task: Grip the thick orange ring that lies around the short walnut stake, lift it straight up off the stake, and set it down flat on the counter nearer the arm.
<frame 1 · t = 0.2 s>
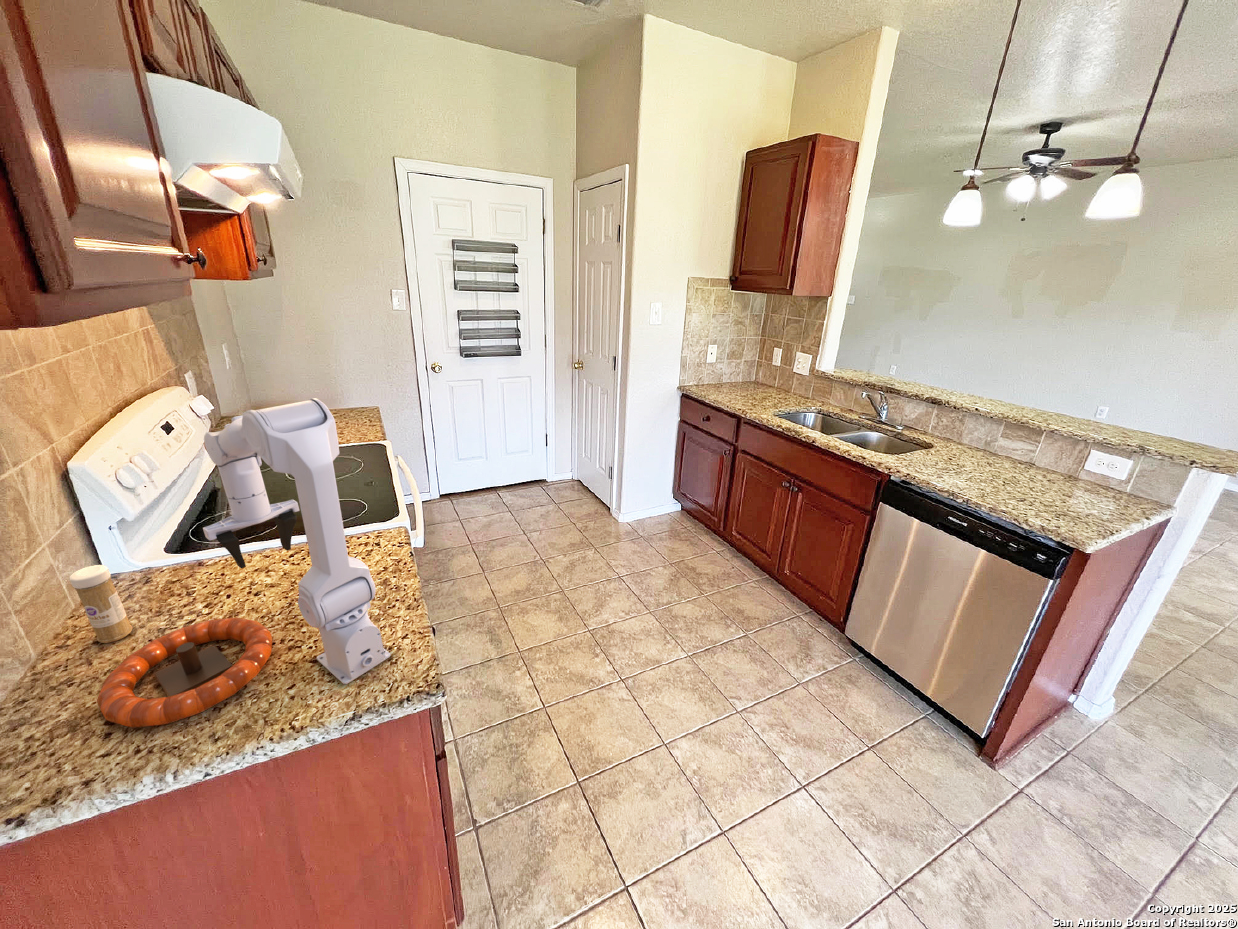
hand: (264, 557, 94), 10 cm above the counter, tool pointing down, fingers open, 7 cm apart
stake: (195, 674, 79), on the counter
ring: (192, 666, 79), point 2 cm above the counter
sprinkles bottle: (116, 636, 87), on the counter
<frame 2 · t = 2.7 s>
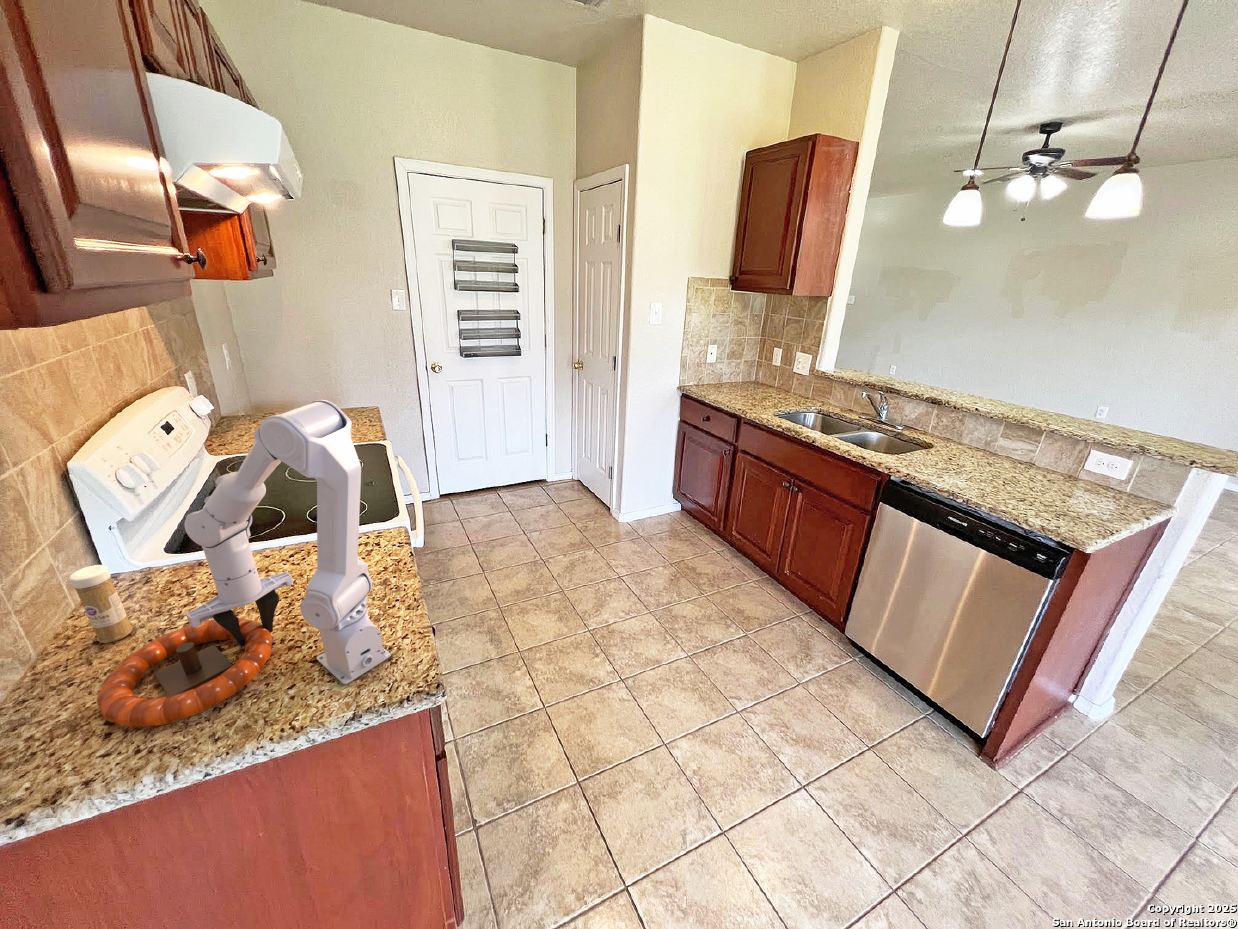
hand: (255, 636, 85), 2 cm above the counter, tool pointing down, fingers closed on ring, 3 cm apart
ring: (192, 666, 79), point 2 cm above the counter, touching gripper
everything else where it was.
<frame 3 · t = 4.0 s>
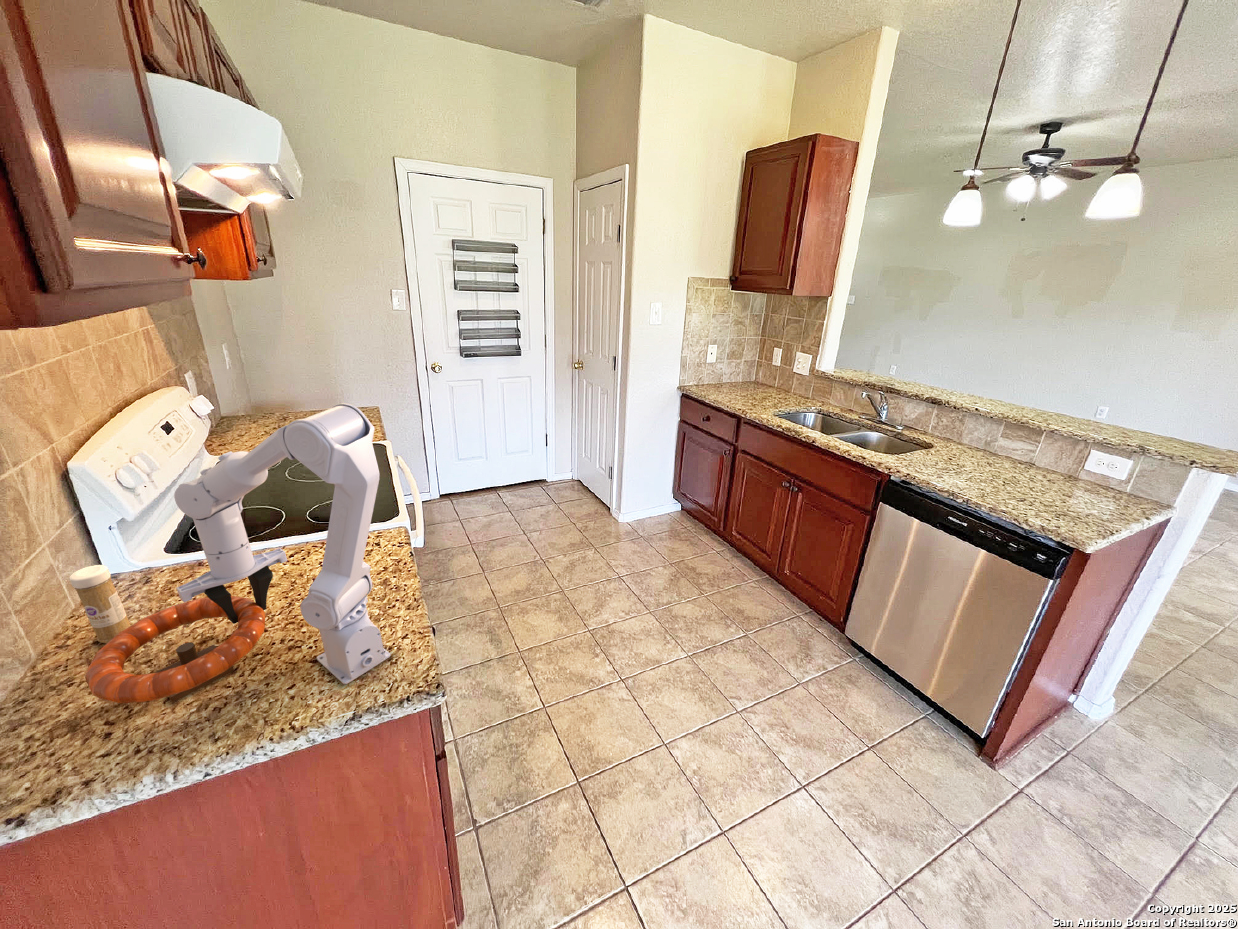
hand: (248, 614, 84), 6 cm above the counter, tool pointing down, fingers closed on ring, 3 cm apart
ring: (183, 643, 77), point 7 cm above the counter, touching gripper
everything else where it was.
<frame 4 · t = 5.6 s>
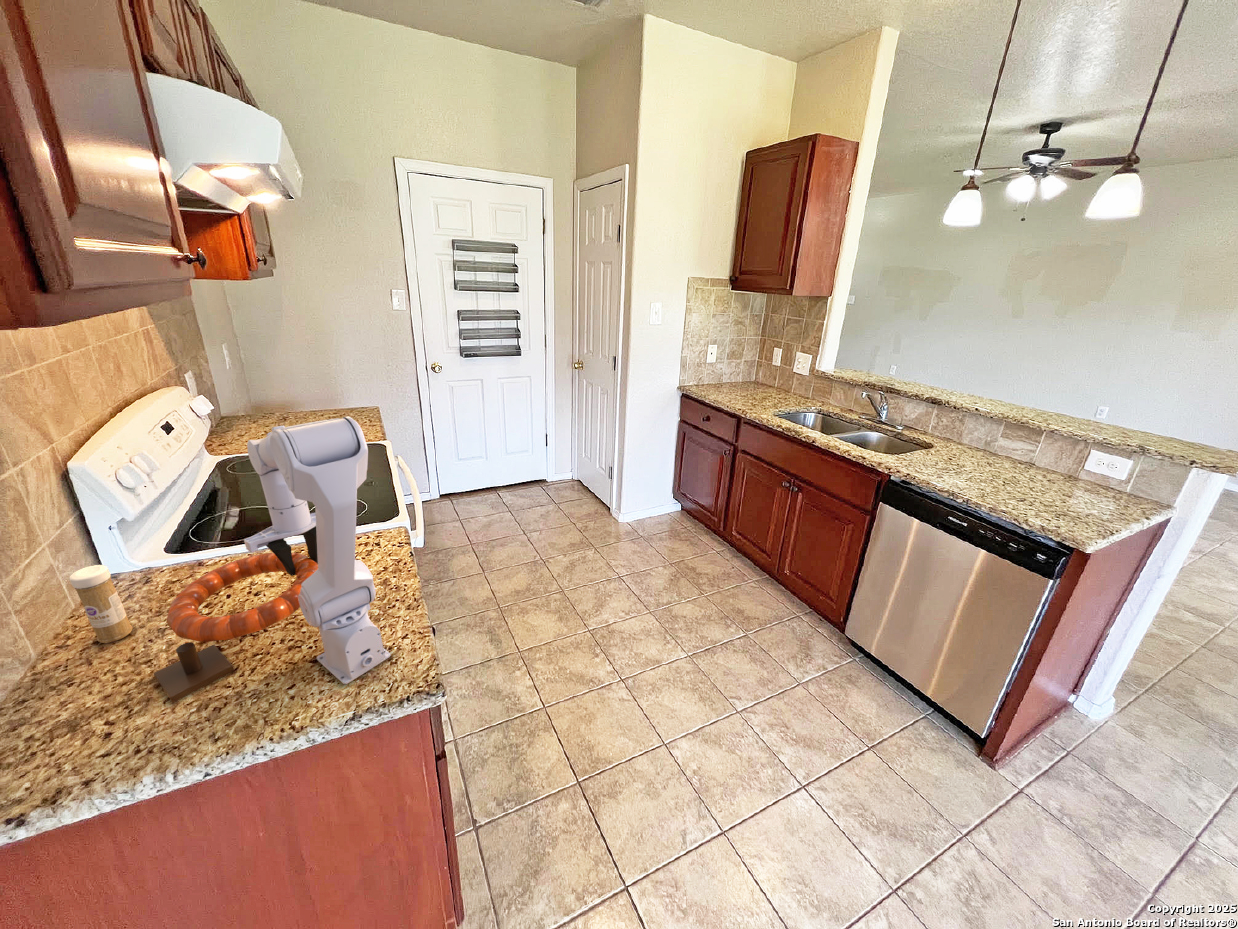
hand: (303, 568, 90), 10 cm above the counter, tool pointing down, fingers closed on ring, 3 cm apart
ring: (249, 592, 84), point 10 cm above the counter, touching gripper
everything else where it was.
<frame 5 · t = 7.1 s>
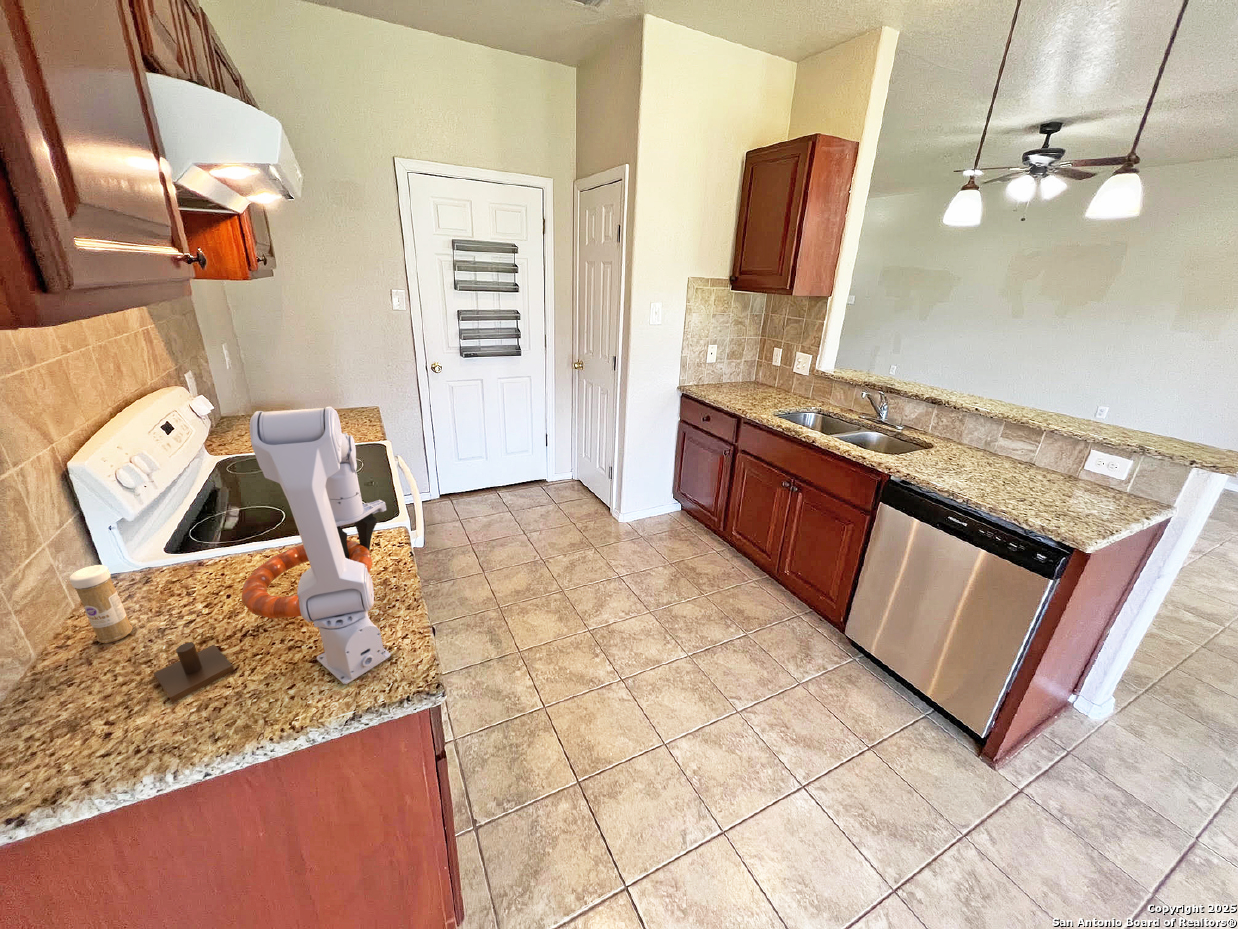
hand: (355, 553, 99), 8 cm above the counter, tool pointing down, fingers closed on ring, 3 cm apart
ring: (310, 575, 93), point 7 cm above the counter, touching gripper
everything else where it was.
when the fingers open (3 cm above the counter, at t = 8.4 s): ring stays where it is, point 2 cm above the counter.
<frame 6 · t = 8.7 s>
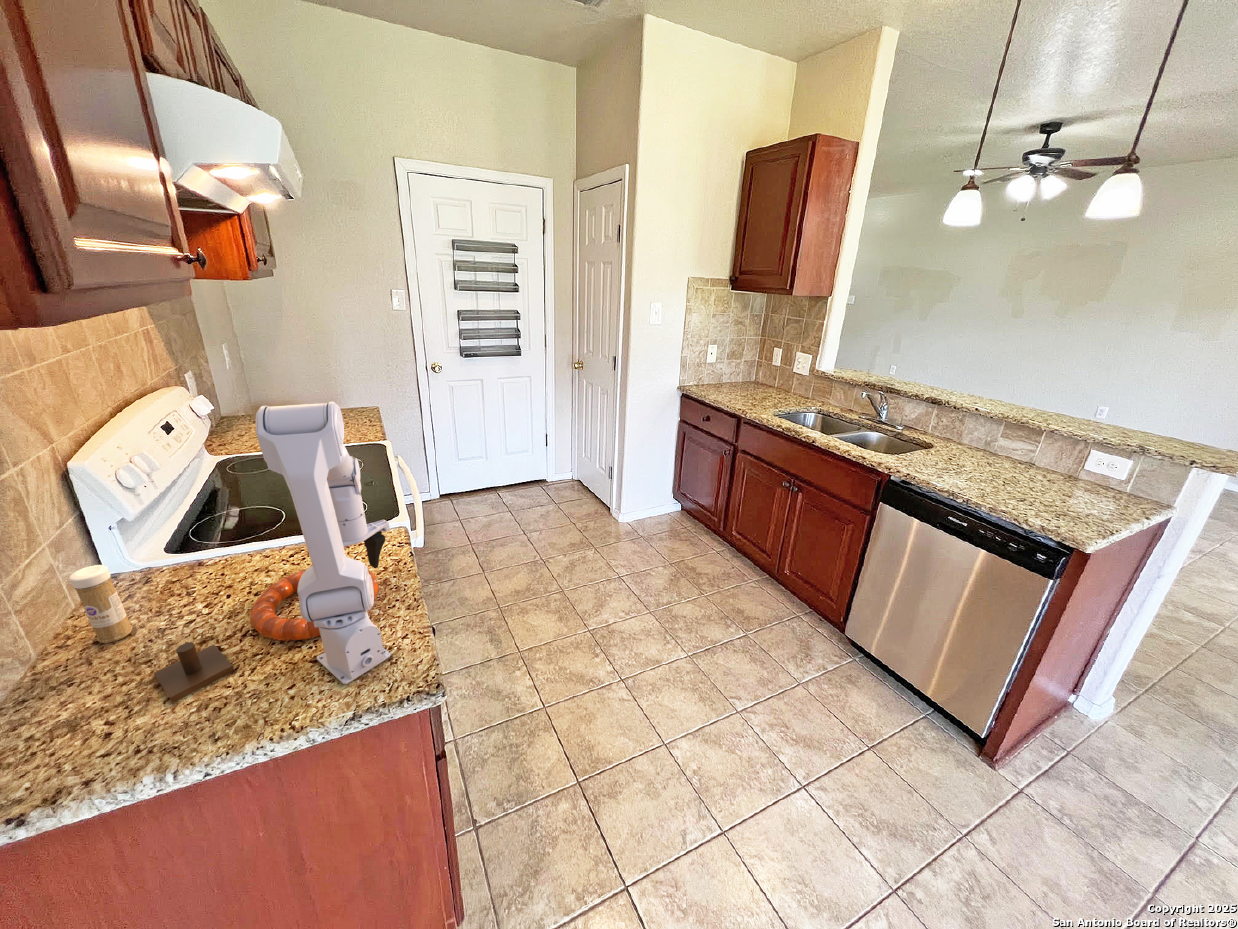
hand: (359, 573, 101), 3 cm above the counter, tool pointing down, fingers open, 5 cm apart
ring: (317, 598, 95), point 2 cm above the counter
everything else where it was.
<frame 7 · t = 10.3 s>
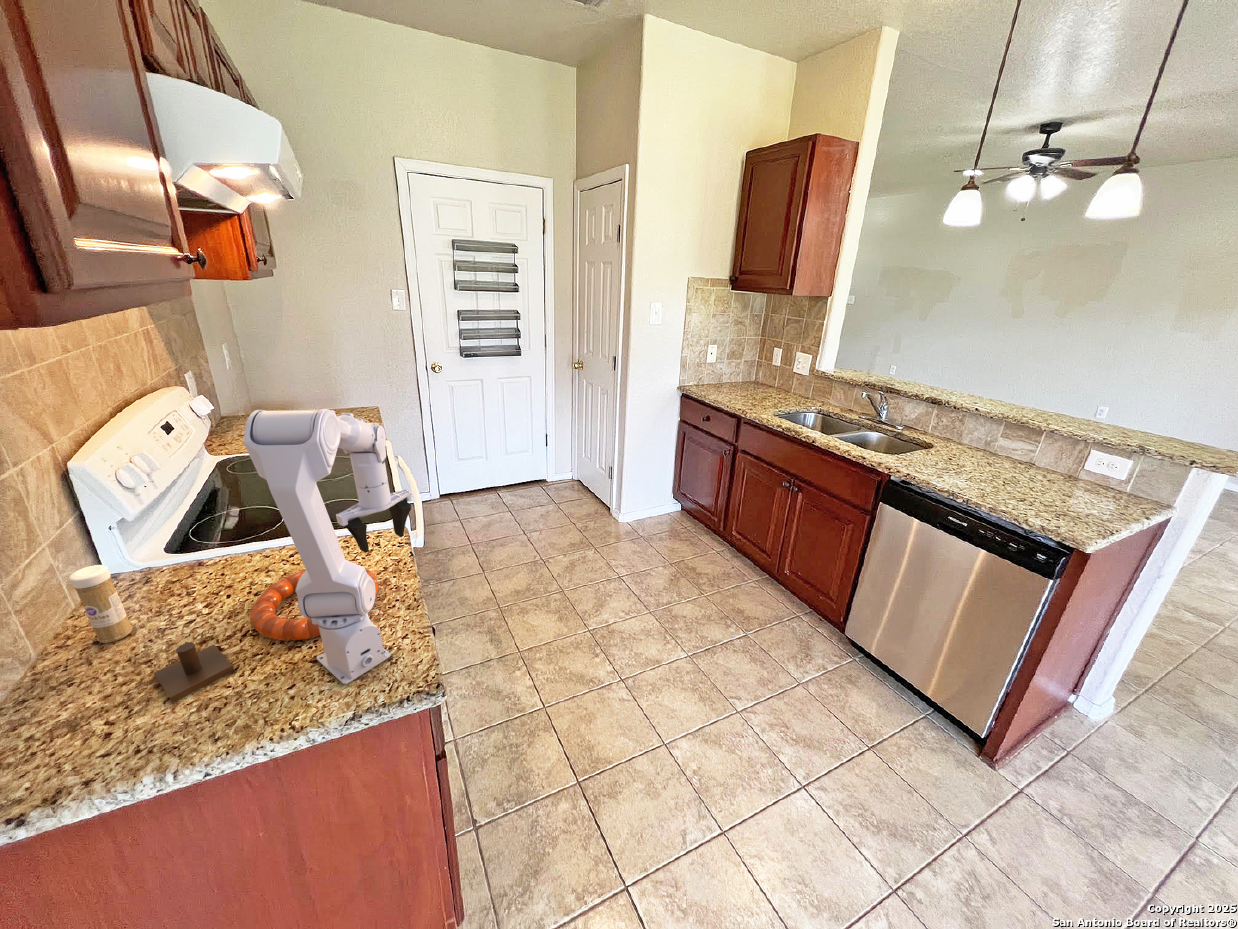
hand: (382, 542, 100), 9 cm above the counter, tool pointing down, fingers open, 7 cm apart
nothing on the counter moved.
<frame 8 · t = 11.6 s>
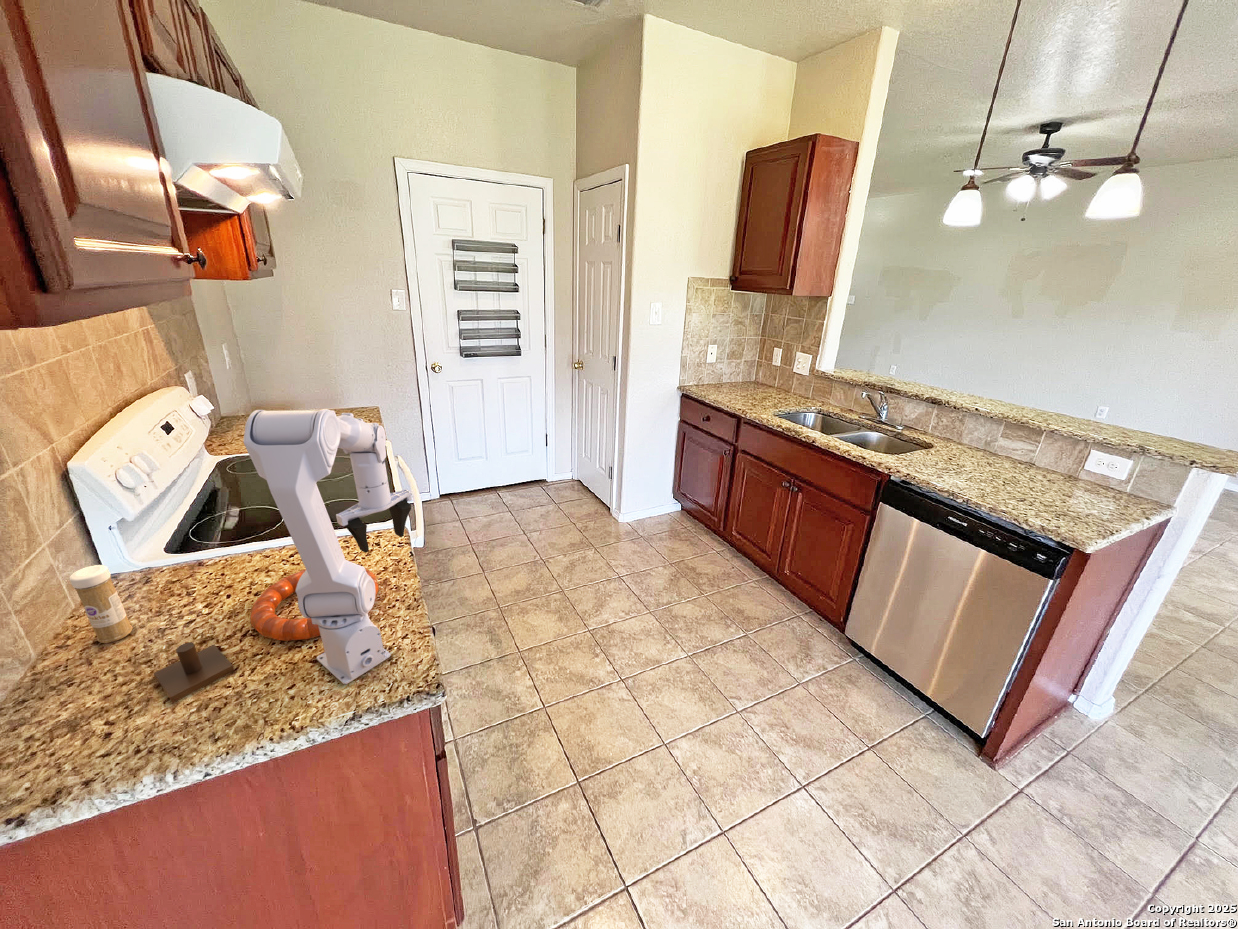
hand: (382, 542, 100), 9 cm above the counter, tool pointing down, fingers open, 7 cm apart
nothing on the counter moved.
at the end: ring inside the target area (0.2 cm from its centre), point 1.8 cm above the counter; ring tilted 0°; the gripper is holding nothing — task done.
